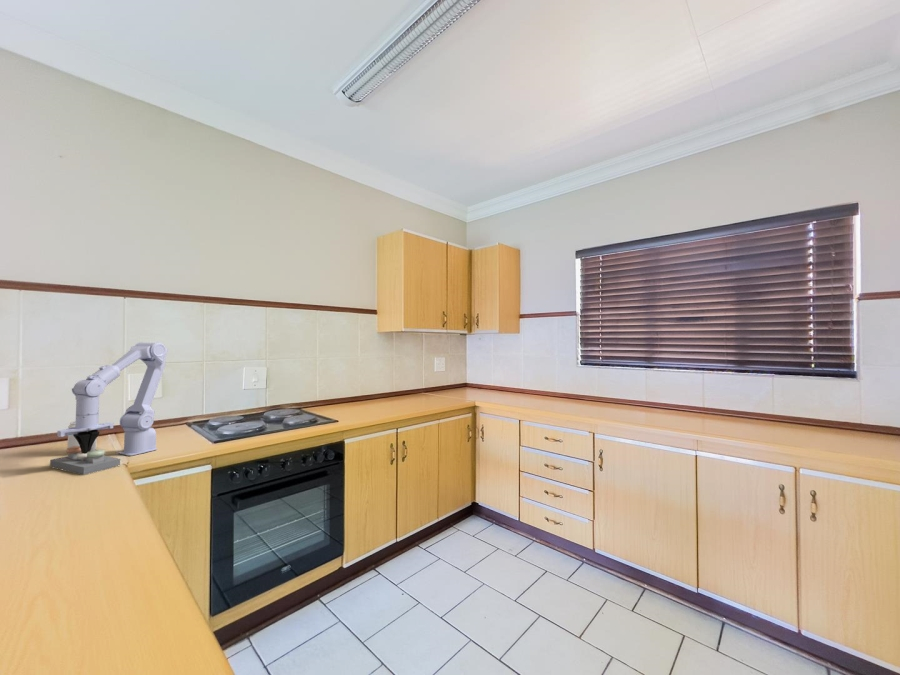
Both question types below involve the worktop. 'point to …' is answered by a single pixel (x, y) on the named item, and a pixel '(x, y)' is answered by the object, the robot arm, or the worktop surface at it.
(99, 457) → the sage button
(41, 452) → the worktop surface
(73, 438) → the translucent white cylinder
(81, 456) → the cream button
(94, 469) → the button panel
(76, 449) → the terracotta button
